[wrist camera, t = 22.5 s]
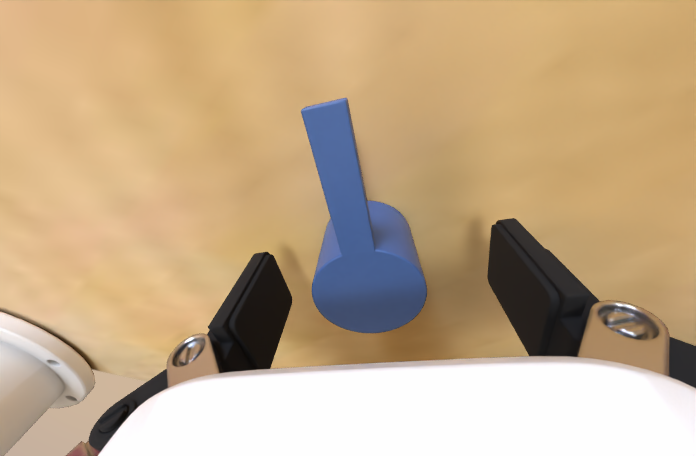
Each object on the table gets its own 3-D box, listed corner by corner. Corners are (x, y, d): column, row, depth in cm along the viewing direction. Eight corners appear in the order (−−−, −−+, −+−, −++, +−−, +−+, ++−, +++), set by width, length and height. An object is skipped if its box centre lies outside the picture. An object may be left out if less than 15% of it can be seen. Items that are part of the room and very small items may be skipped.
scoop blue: (335, 276, 15) (327, 338, 11) (283, 106, 10) (242, 123, 7) (414, 266, 14) (430, 328, 11) (394, 80, 10) (411, 83, 6)
